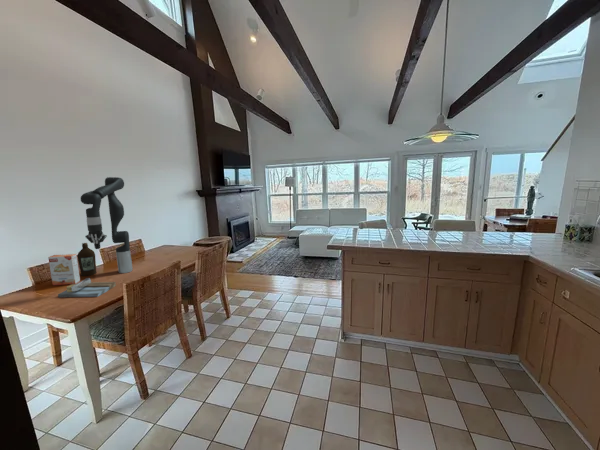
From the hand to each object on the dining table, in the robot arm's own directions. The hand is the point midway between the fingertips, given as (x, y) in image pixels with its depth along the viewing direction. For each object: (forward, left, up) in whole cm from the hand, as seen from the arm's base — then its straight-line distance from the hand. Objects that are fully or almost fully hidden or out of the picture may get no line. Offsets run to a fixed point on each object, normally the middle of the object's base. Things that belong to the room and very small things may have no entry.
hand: (97, 248), depth 172 cm
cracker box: (-6, -29, -27) cm, 40 cm away
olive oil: (-25, -28, -27) cm, 46 cm away
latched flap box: (+9, -3, -27) cm, 28 cm away
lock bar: (+9, -7, -24) cm, 26 cm away
